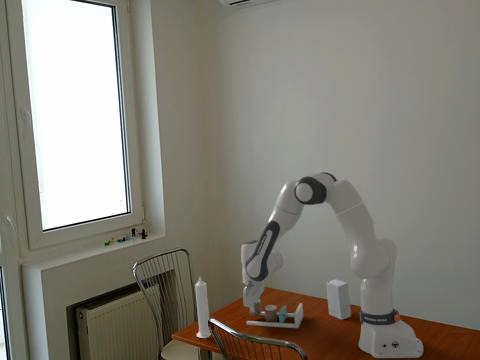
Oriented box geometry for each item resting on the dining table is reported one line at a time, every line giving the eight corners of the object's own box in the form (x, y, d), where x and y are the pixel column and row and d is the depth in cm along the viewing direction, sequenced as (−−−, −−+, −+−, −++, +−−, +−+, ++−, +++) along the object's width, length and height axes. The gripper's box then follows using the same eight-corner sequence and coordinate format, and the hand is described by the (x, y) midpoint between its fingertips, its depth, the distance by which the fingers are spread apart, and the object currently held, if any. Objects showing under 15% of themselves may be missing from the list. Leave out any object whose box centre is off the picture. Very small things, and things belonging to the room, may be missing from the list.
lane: (303, 316, 206) (302, 303, 205) (298, 328, 195) (297, 314, 194) (254, 313, 213) (253, 301, 212) (246, 324, 202) (245, 311, 201)
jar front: (278, 318, 206) (277, 305, 205) (275, 323, 201) (274, 309, 200) (267, 317, 208) (266, 304, 207) (264, 322, 203) (263, 309, 202)
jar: (260, 310, 209) (259, 297, 208) (262, 315, 204) (261, 301, 203) (248, 311, 209) (247, 298, 208) (250, 316, 204) (249, 302, 203)
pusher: (291, 317, 205) (290, 305, 205) (287, 324, 198) (286, 312, 198) (283, 316, 207) (283, 305, 206) (279, 324, 199) (278, 312, 199)
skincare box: (351, 316, 202) (349, 283, 200) (340, 320, 199) (338, 286, 197) (338, 310, 209) (336, 278, 207) (327, 314, 206) (325, 281, 204)
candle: (203, 330, 200) (197, 272, 197) (217, 333, 196) (212, 274, 193) (193, 337, 194) (187, 278, 191) (207, 340, 190) (202, 280, 187)
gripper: (253, 286, 194) (255, 319, 195) (266, 270, 213) (268, 300, 214) (238, 286, 196) (240, 318, 197) (252, 270, 215) (254, 299, 217)
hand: (255, 308), depth 206 cm, fingers closed on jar, 5 cm apart
